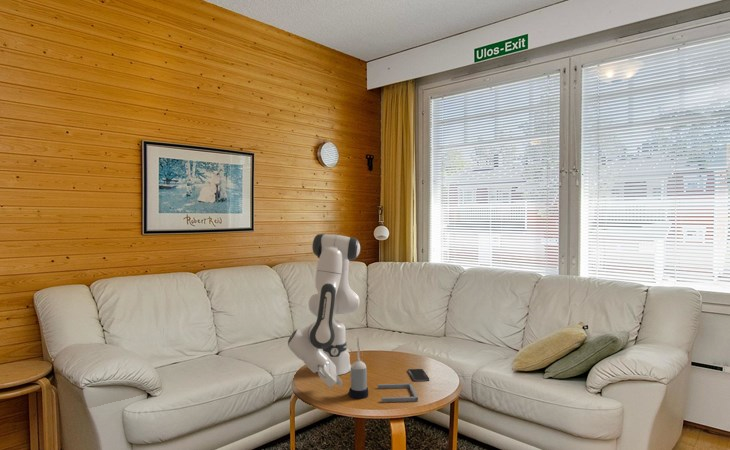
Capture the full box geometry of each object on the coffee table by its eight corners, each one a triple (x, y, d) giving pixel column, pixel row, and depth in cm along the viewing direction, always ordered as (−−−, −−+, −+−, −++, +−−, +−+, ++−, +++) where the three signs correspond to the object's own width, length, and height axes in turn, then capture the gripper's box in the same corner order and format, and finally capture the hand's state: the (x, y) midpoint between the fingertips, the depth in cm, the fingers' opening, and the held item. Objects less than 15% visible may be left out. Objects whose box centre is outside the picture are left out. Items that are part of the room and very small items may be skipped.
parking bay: (377, 387, 202) (377, 384, 202) (411, 386, 204) (411, 383, 204) (381, 402, 187) (381, 398, 187) (417, 401, 188) (417, 397, 188)
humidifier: (346, 393, 196) (346, 335, 196) (364, 390, 199) (364, 333, 199) (352, 400, 189) (352, 340, 188) (370, 397, 191) (370, 338, 191)
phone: (413, 380, 210) (407, 369, 225) (413, 382, 210) (407, 371, 225) (430, 379, 211) (422, 368, 226) (430, 381, 211) (422, 371, 226)
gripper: (323, 364, 182) (347, 388, 183) (323, 349, 203) (345, 371, 203) (312, 376, 182) (336, 399, 183) (313, 360, 202) (335, 381, 203)
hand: (341, 384), depth 193 cm, fingers closed
